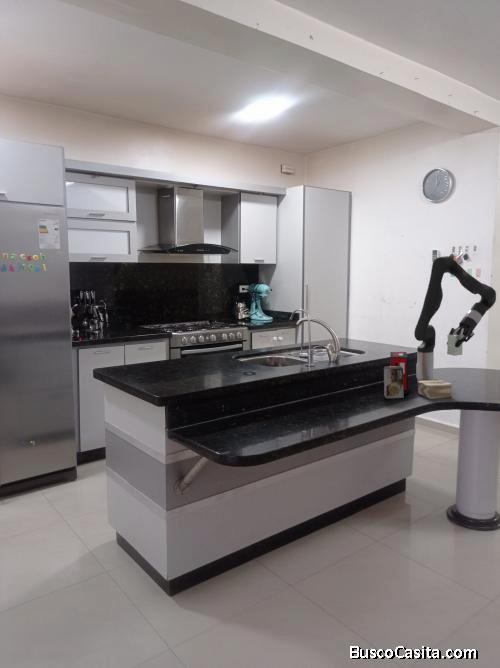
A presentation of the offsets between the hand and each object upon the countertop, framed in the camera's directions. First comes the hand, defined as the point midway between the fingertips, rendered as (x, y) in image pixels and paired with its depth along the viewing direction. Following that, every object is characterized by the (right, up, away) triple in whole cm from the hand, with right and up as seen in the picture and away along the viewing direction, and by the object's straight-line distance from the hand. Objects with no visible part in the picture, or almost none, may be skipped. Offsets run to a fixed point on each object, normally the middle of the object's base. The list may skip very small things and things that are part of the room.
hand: (452, 345), depth 246 cm
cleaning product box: (-19, -26, +25) cm, 41 cm away
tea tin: (+2, -5, +1) cm, 5 cm away
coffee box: (-27, -28, +11) cm, 40 cm away
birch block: (-5, -27, +10) cm, 29 cm away
